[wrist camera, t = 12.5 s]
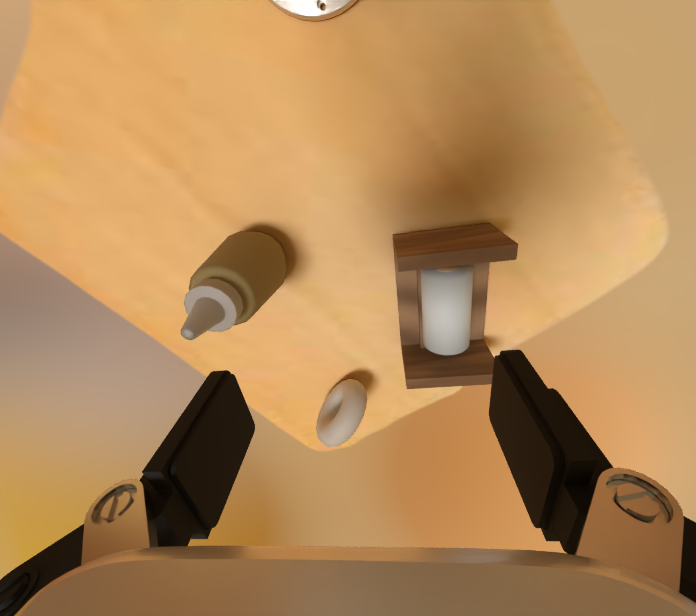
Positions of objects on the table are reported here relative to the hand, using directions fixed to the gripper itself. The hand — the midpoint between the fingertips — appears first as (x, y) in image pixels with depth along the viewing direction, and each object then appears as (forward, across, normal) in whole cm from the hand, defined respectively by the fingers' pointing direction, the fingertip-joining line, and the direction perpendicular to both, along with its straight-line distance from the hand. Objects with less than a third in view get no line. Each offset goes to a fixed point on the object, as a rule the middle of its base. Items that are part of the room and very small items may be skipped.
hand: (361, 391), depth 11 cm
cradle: (+28, -8, +11) cm, 31 cm away
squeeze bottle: (+28, +14, +3) cm, 32 cm away
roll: (+24, -8, +11) cm, 28 cm away
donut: (+28, +7, +26) cm, 39 cm away
